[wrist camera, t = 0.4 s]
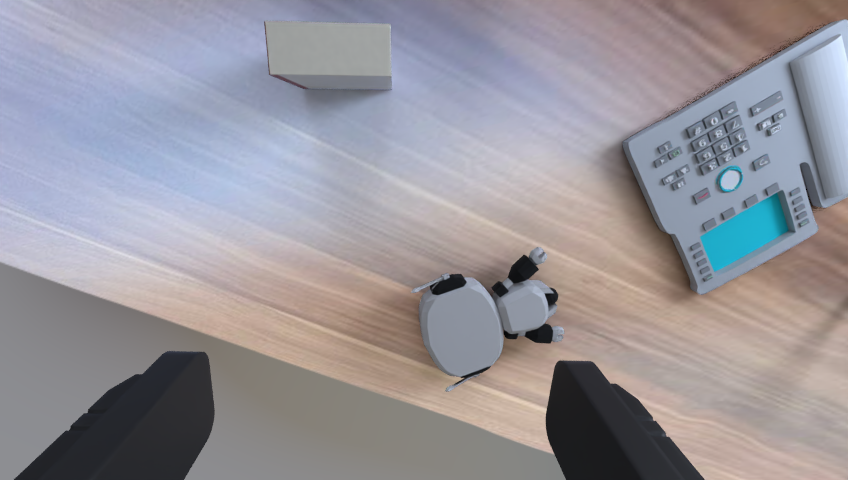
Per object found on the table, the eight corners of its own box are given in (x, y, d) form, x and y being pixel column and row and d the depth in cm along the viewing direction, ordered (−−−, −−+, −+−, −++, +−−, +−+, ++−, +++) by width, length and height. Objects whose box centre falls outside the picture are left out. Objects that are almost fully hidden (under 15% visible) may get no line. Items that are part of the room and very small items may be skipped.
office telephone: (862, 11, 37) (901, 197, 42) (832, 18, 39) (872, 193, 45) (635, 143, 38) (701, 307, 43) (619, 142, 41) (683, 297, 46)
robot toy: (533, 233, 43) (402, 278, 43) (552, 244, 39) (406, 295, 38) (556, 329, 47) (435, 373, 46) (575, 349, 43) (442, 398, 42)
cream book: (300, 50, 36) (263, 20, 26) (391, 52, 37) (390, 23, 26) (303, 89, 37) (268, 74, 26) (391, 90, 38) (391, 76, 27)
